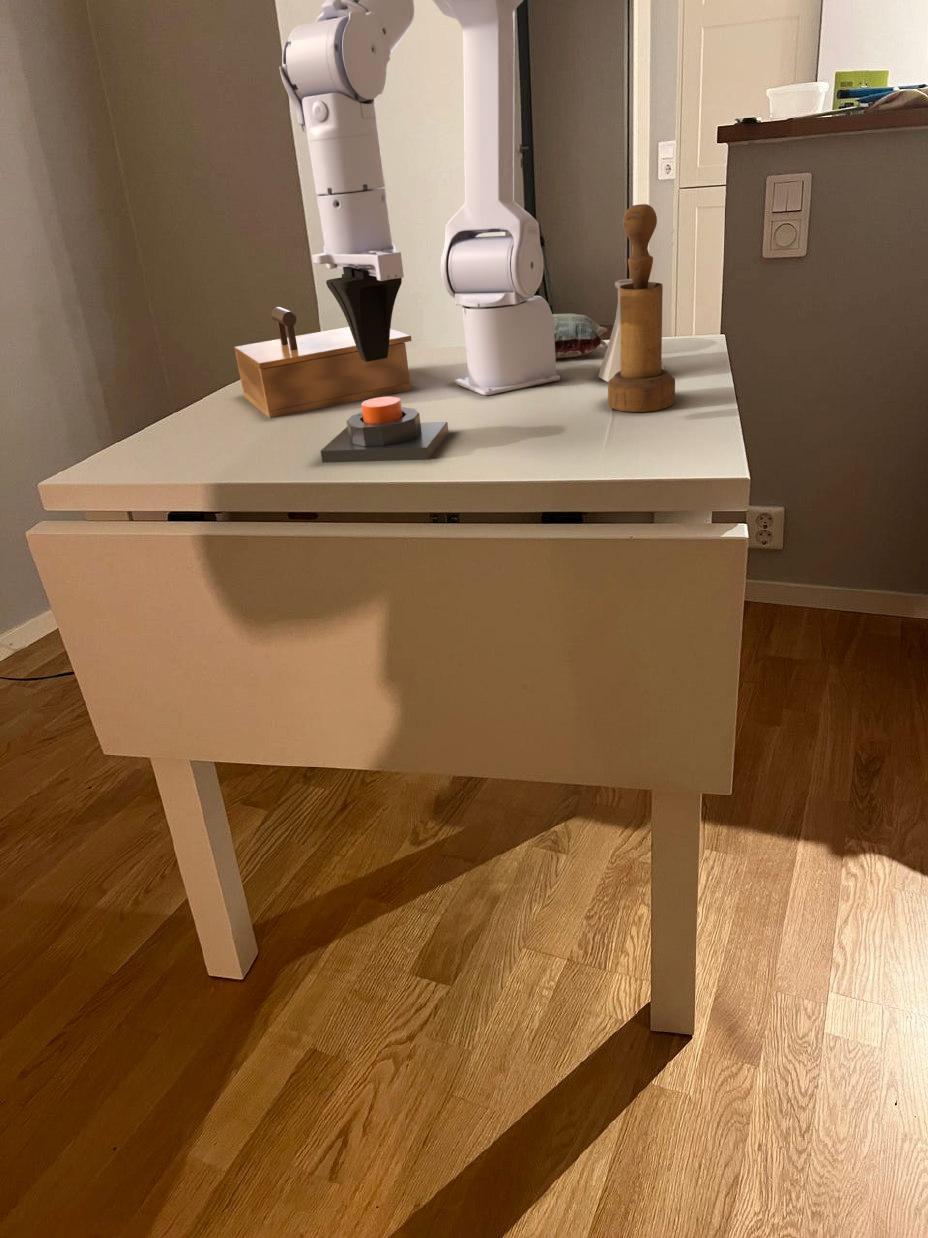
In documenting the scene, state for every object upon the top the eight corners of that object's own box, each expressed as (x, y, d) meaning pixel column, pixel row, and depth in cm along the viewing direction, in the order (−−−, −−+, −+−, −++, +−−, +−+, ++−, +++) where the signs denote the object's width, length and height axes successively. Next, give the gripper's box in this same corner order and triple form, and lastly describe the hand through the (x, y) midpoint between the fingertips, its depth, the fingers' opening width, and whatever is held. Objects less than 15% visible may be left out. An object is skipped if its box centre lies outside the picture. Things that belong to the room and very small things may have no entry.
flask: (662, 366, 104) (662, 272, 99) (668, 382, 97) (669, 282, 93) (597, 371, 105) (594, 278, 100) (599, 387, 98) (596, 288, 94)
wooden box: (374, 372, 116) (368, 328, 113) (411, 389, 105) (405, 342, 103) (244, 397, 110) (235, 352, 108) (269, 418, 100) (260, 369, 97)
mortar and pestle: (675, 411, 87) (676, 204, 79) (606, 414, 89) (600, 211, 80) (675, 393, 93) (676, 198, 85) (610, 396, 94) (605, 204, 86)
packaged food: (514, 350, 119) (512, 311, 116) (607, 344, 117) (606, 304, 114) (507, 367, 111) (504, 325, 109) (607, 361, 109) (606, 318, 107)
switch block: (448, 433, 88) (445, 402, 87) (428, 460, 81) (424, 427, 80) (350, 437, 90) (345, 406, 89) (322, 463, 83) (316, 431, 82)
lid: (374, 327, 114) (368, 287, 111) (411, 340, 103) (406, 297, 101) (234, 351, 108) (226, 310, 106) (260, 368, 97) (251, 323, 95)
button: (407, 414, 86) (404, 395, 85) (396, 425, 83) (394, 406, 82) (370, 415, 86) (367, 397, 86) (358, 426, 83) (355, 407, 83)
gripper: (281, 196, 80) (308, 354, 87) (331, 198, 68) (358, 380, 75) (357, 187, 83) (378, 341, 89) (418, 186, 71) (438, 365, 77)
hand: (374, 358), depth 82 cm, fingers closed
